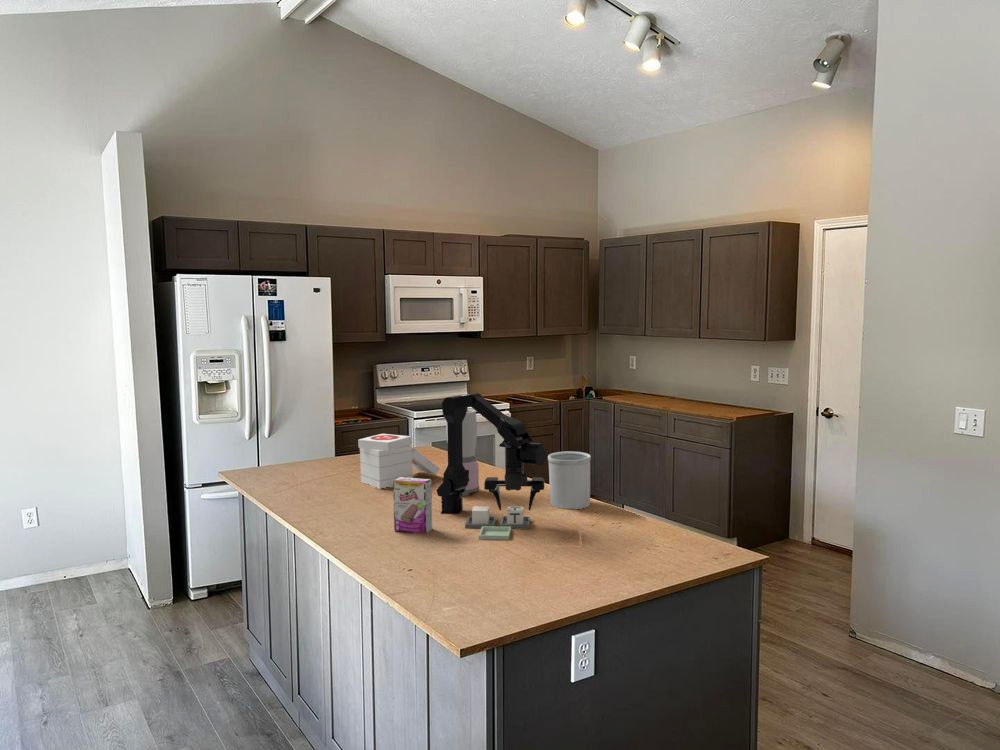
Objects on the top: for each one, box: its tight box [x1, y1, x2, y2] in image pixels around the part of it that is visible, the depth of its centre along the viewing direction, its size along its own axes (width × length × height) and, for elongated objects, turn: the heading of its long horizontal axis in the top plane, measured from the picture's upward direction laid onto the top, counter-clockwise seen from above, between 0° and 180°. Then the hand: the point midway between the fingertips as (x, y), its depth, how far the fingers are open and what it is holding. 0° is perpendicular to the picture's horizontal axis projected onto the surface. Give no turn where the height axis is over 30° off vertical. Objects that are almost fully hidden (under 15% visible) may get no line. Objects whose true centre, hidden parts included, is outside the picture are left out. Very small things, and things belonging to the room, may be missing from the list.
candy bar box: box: [392, 477, 433, 534], centre depth 232 cm, size 11×5×16 cm, turn 71°
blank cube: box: [471, 505, 490, 524], centre depth 237 cm, size 5×5×5 cm
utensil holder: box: [547, 450, 592, 510], centre depth 259 cm, size 15×15×18 cm
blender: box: [445, 407, 480, 497], centre depth 276 cm, size 16×12×32 cm
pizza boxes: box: [357, 433, 440, 489], centre depth 299 cm, size 19×30×18 cm, turn 129°
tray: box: [478, 525, 512, 541], centre depth 226 cm, size 9×9×2 cm
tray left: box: [464, 515, 497, 529], centre depth 237 cm, size 9×9×2 cm
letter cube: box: [506, 506, 525, 524], centre depth 236 cm, size 5×5×5 cm
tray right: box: [499, 515, 531, 530], centre depth 236 cm, size 9×9×2 cm
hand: (514, 510), depth 236 cm, fingers open, 9 cm apart
